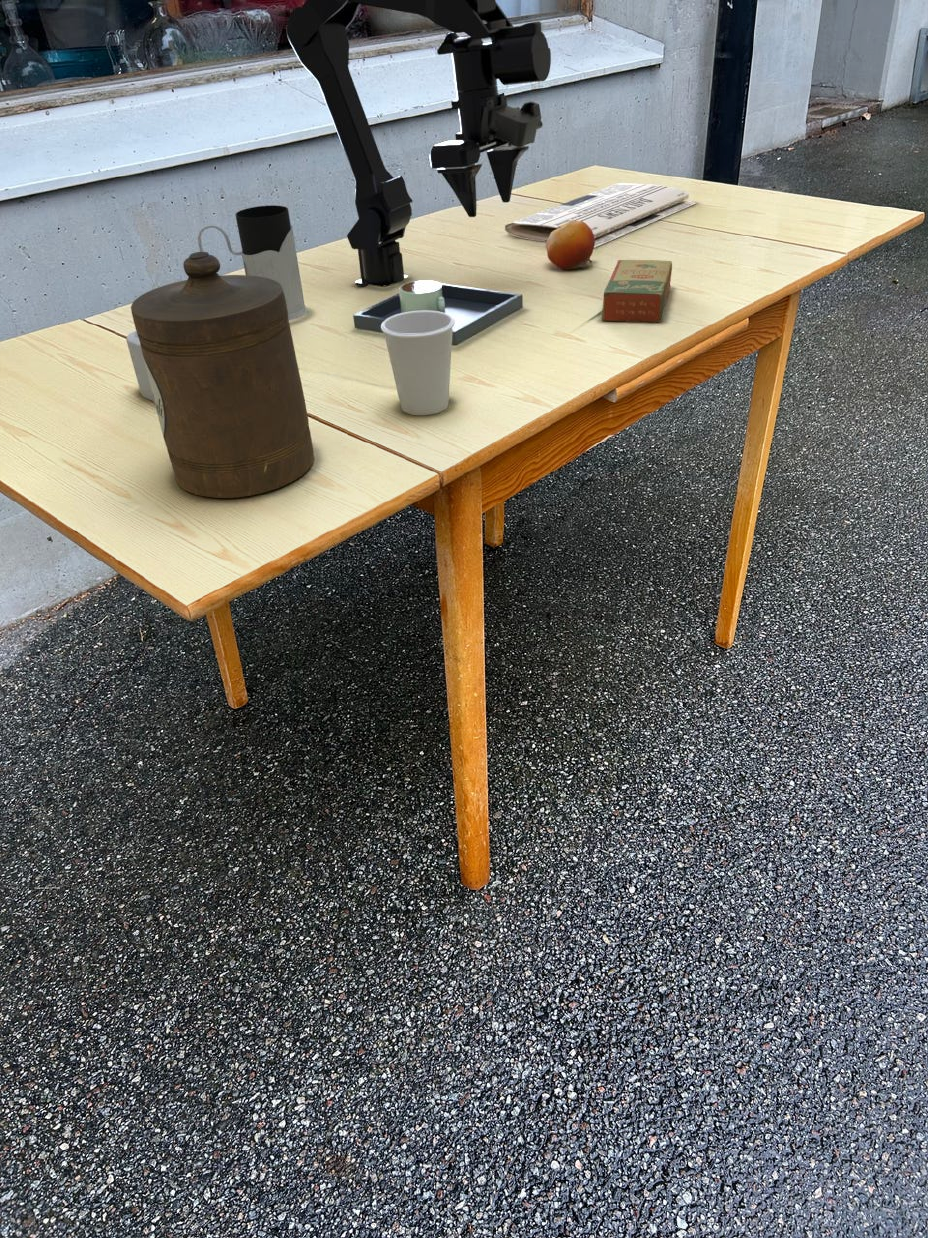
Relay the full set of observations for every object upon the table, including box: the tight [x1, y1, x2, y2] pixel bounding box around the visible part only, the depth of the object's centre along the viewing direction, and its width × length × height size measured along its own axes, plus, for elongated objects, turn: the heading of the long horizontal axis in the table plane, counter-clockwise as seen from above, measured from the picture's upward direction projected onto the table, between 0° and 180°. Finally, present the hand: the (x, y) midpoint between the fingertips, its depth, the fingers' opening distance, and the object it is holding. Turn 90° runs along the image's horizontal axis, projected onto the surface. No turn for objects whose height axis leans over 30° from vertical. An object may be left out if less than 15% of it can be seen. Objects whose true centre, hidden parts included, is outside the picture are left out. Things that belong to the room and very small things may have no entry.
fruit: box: [545, 221, 595, 271], centre depth 152 cm, size 8×8×8 cm
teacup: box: [398, 280, 445, 313], centre depth 130 cm, size 7×6×6 cm
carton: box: [601, 259, 673, 323], centre depth 135 cm, size 8×16×4 cm, turn 165°
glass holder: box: [197, 204, 309, 322], centre depth 136 cm, size 9×14×15 cm, turn 94°
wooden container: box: [130, 251, 315, 499], centre depth 93 cm, size 15×15×22 cm
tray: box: [352, 282, 524, 346], centre depth 134 cm, size 18×18×2 cm
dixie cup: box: [381, 310, 455, 416], centre depth 107 cm, size 8×8×10 cm
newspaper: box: [504, 182, 697, 249], centre depth 177 cm, size 37×19×3 cm, turn 140°
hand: (489, 209), depth 137 cm, fingers open, 9 cm apart
